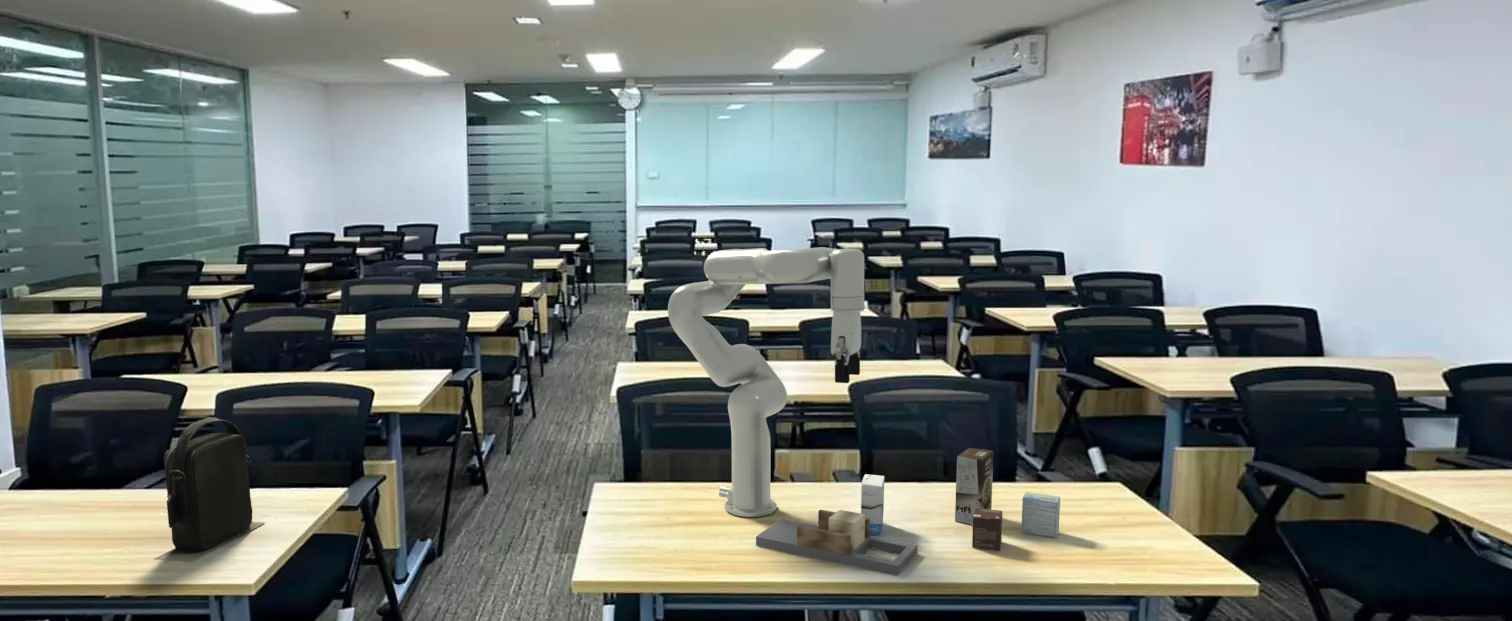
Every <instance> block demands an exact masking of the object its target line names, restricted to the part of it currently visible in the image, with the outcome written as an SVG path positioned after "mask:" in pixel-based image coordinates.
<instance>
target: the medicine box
mask: <svg viewBox="0 0 1512 621" xmlns="http://www.w3.org/2000/svg"><path fill="white" fill-rule="evenodd" d="M1021 508H1022V509H1021V530H1020V531H1021V532H1020V533H1021V534H1029V535H1034V536H1043V537H1047V538H1048V537H1049V538H1055V539H1057V537H1058V535H1059V532H1060V511H1061V510H1060V509H1061V497H1060V496H1058V495H1053V494H1052V495H1051V494H1044V493H1038V492H1029V491H1025V493H1024V495H1023V497H1022V506H1021Z"/></svg>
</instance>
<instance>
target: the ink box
mask: <svg viewBox="0 0 1512 621" xmlns="http://www.w3.org/2000/svg"><path fill="white" fill-rule="evenodd" d="M860 492H861V493H860V495H861V496H860V498H861V500H860V514H865V518H869V519H870V536H881V535H882V532H883V525H884V512H885V511H884V510H885V509H884V506H885V504H884V503H885V475H878V474H867V473H865V474H864V476H863V478H862V481H861V491H860Z"/></svg>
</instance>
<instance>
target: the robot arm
mask: <svg viewBox="0 0 1512 621" xmlns="http://www.w3.org/2000/svg"><path fill="white" fill-rule="evenodd" d="M703 272H704V274H705V276H706V278H707V279H708V280H705V281H699V282H698V281H697V282H692V283H687V284H683V285H681V286H679V287H678V288H676V289H675V290H674V291H673V292H672V294H671V295H670V298H669V300H668V303H667V304H668V305H667V314H668V315H667V316H668V320H669V323H670V325H671V327H672V330H673V331H674V333H676V335H677V337H679V339H680V340H681V341H682V343H683V344H685V345H686V347H687V348H688V349H689V350H690V352H691V354H692V355H693V356H694V358H695V359H696V360H697V362H698V363H699V364H700V366H701V367H702V369H703V370H704V371H705V372H706V374H707V375H708V377H709V378H710V379H711V380H712V381H713V383H714V384H716V385H717V386H718V387H722V388H729V387H733V386H735V385H738V384H740V385H739V386H737V387H736V388H735V389H734V390H733V391H732V392H731V394H729V397H728V400H727V411H728V416H729V422H730V431H731V433H730V434H731V436H730V437H731V487H727V486H723V485H722V486H720V488H719V490H718V491H719V492H718V496H719V497H721V498H726V499H727V501H726V502H725V510H726V511H727V512H728V513H729V514H731V515H734V516H738V517H743V518H745V517H746V518H758V517H765V516H769V515H771V514H773V513H775V511H777V502H776V501H775V500H773V499H772V498H771V448H772V447H771V432H770V430H769V427H768V423H767V418H768V417H771V416H773V415H775V414H777V413H779V412H780V411H781V410H783V408H785V406H786V404H787V401H788V393H787V389H786V386H785V385H784V383H783V382H782V380H781V379H780V378H779V376H778V375H777V373H776V372H775V371H774V370H773V368H772V367H771V365H769V363H768V361H767V360H766V359H765V358H764V356H763V355H762V354H761V352H759V351H758V350H757V349H756V348H754V346H751V345H748V344H745V343H738V344H734V345H733V344H732V345H731V344H729V342H728V341H727V340H726V339H725V338H724V336H723V335H722V333H721V332H720V331H719V330H718V329H717V328H716V326H714V325H712V324H711V323H710V322H708V321H707V320H706V319H705V318H704V316H708V315H711V314H712V315H713V314H717V313H719V312H721V311H724V310H725V309H726V308H727V307H728V306H729V305H730V304H731V303H732V302H733V300H734V299H735V298H736V297H737V295H738V294H739V293H740V292H741V290H743V288H744V287H745V286H746V285H768V284H771V285H772V284H773V285H774V284H775V285H777V284H778V285H780V284H781V285H782V284H807V283H812V282H817V281H823V280H830V311H831V312H832V318H831V331H830V332H831V335H830V353H831V355H833V356H834V382H835V383H837V384H838V383H839V384H849V383H850V376H851V375H852V376H859V375H860V373H861V358H860V356H861V352H860V350H861V348H862V319H861V318H862V316H861V312H864V311H865V254H864V252H863V251H862V250H861V249H858V248H831V247H825V246H820V247H810V248H809V247H808V248H803V249H791V250H790V249H788V250H769V249H767V248H765V247H764V248H763V247H761V248H760V247H759V248H744V249H743V248H742V249H741V248H731V249H721V250H720V249H719V250H717V251H715V252H714V251H713V252H712V253H711V254H709V255H708V256H707V258H706V259H705V260H704V265H703Z"/></svg>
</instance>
